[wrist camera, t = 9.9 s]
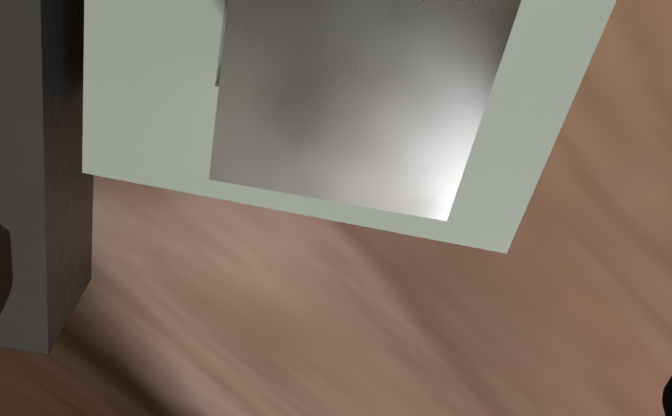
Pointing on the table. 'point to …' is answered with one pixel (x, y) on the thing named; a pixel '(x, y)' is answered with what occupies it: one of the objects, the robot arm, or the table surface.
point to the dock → (193, 177)
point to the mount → (43, 168)
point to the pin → (356, 97)
